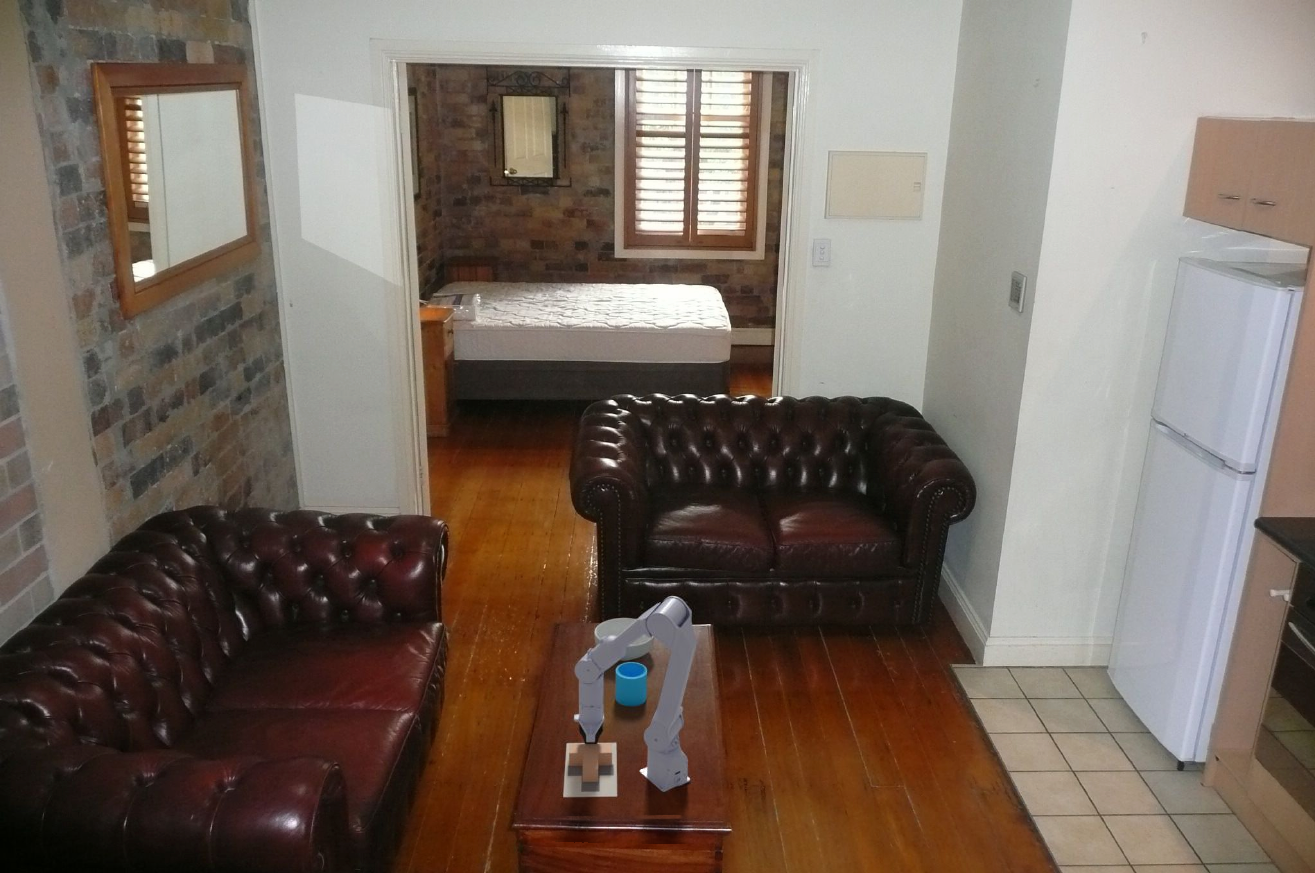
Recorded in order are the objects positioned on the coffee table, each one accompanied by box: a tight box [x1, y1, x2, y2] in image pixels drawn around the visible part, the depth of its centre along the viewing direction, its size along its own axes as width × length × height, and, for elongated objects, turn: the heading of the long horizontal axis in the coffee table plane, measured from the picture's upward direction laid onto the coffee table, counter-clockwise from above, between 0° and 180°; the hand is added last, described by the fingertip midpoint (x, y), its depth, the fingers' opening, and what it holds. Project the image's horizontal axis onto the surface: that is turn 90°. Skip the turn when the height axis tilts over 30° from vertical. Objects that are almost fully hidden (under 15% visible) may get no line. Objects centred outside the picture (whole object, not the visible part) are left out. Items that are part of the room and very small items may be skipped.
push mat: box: [563, 742, 618, 798], centre depth 238 cm, size 20×12×1 cm, turn 3°
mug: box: [615, 661, 648, 707], centre depth 268 cm, size 12×8×8 cm
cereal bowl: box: [594, 617, 656, 662], centre depth 288 cm, size 17×17×7 cm
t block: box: [569, 744, 612, 782], centre depth 237 cm, size 10×10×4 cm
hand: (591, 750), depth 243 cm, fingers closed
